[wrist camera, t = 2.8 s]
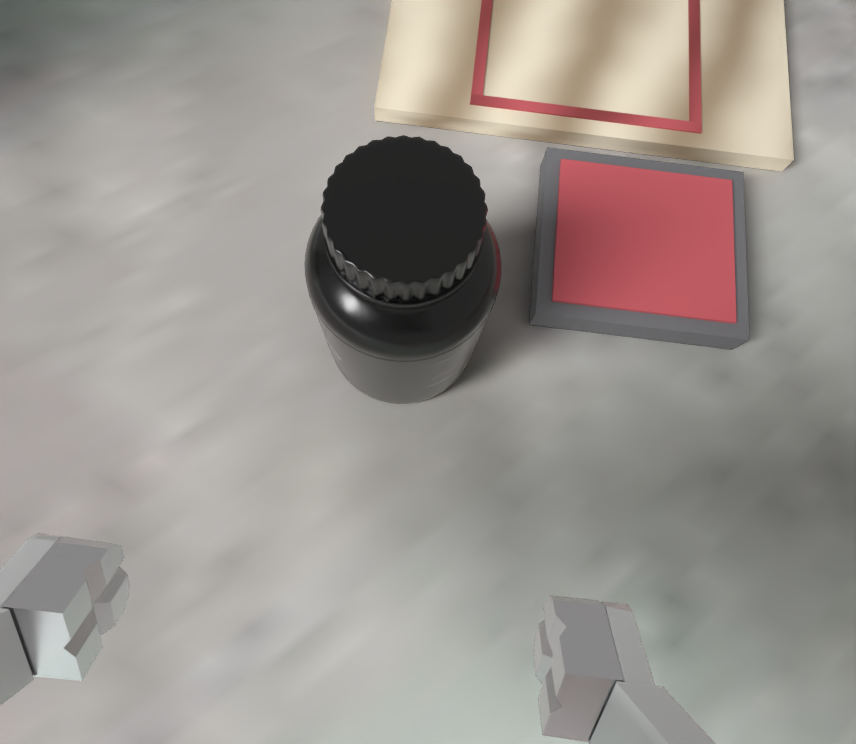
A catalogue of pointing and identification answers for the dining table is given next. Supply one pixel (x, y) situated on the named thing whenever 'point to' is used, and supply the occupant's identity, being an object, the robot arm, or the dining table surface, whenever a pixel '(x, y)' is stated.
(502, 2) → the marked board
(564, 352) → the dining table surface
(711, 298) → the ink pad
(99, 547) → the robot arm
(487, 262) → the supplement bottle
